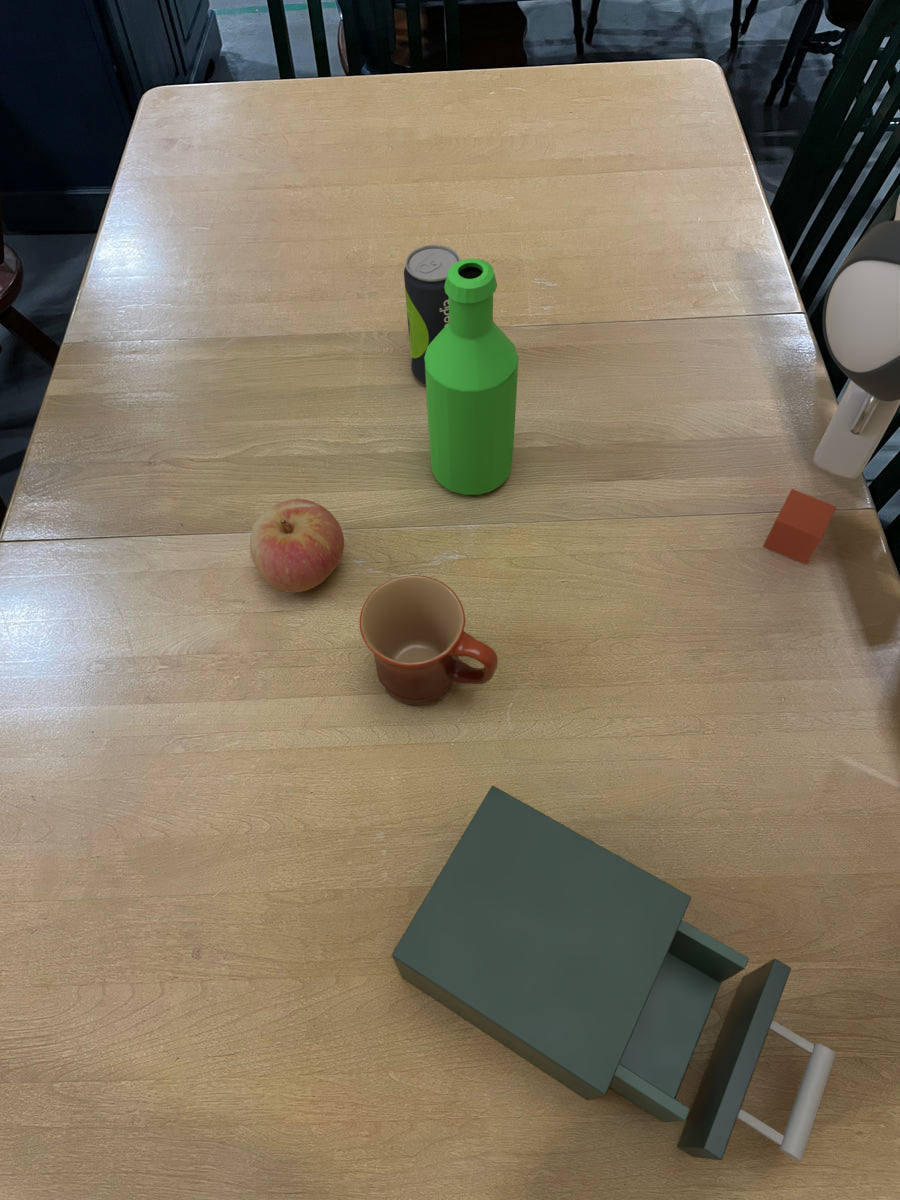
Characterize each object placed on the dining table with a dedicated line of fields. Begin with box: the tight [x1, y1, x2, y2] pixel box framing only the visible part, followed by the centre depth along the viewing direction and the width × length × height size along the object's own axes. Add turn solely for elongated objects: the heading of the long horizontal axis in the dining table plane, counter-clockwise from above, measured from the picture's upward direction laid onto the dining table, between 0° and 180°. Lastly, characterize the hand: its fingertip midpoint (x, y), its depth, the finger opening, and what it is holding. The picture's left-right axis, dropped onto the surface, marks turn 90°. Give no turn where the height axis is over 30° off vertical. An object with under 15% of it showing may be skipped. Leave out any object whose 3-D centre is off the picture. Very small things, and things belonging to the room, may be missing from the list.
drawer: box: [608, 919, 836, 1163], centre depth 59 cm, size 20×13×8 cm, turn 59°
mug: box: [359, 574, 499, 707], centre depth 74 cm, size 12×9×10 cm
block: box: [763, 488, 837, 565], centre depth 84 cm, size 4×4×4 cm
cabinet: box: [391, 785, 692, 1101], centre depth 62 cm, size 16×14×10 cm
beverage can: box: [403, 244, 462, 385], centre depth 94 cm, size 6×6×15 cm
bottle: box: [424, 258, 519, 496], centre depth 82 cm, size 9×9×25 cm
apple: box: [249, 498, 345, 593], centre depth 82 cm, size 9×9×8 cm
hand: (847, 436), depth 73 cm, fingers open, 3 cm apart
